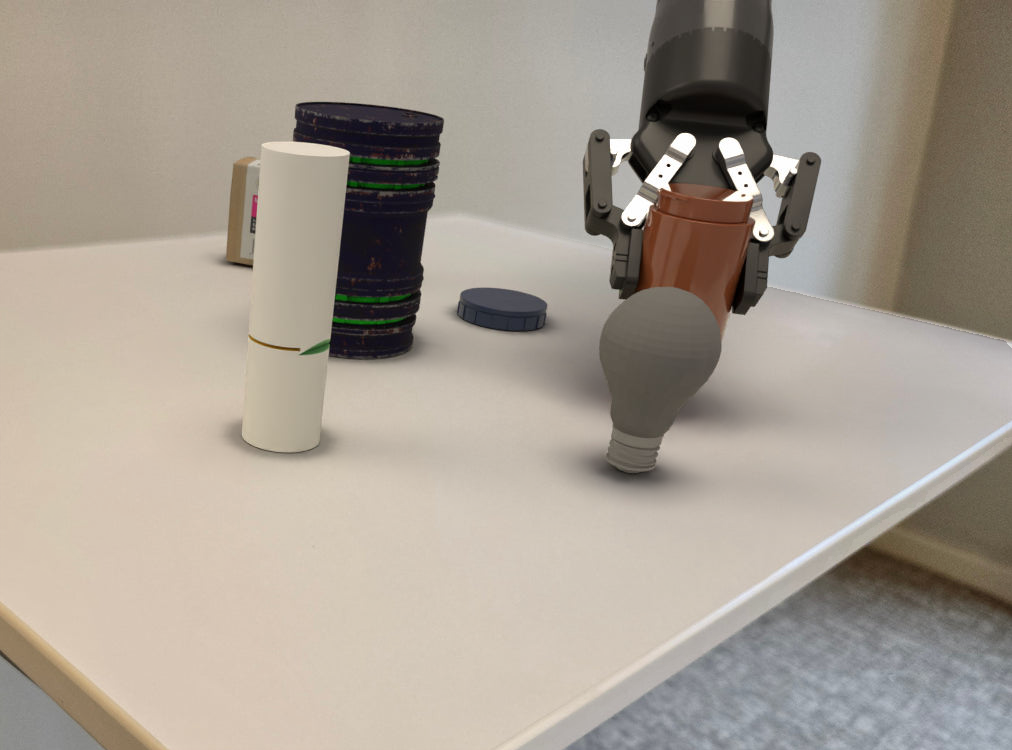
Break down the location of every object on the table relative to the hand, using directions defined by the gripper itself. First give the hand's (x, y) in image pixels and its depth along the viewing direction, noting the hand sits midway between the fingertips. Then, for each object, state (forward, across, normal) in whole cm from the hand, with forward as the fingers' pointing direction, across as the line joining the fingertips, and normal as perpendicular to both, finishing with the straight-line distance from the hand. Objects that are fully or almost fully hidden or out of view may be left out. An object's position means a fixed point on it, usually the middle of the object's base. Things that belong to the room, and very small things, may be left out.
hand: (685, 299), depth 63 cm
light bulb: (+12, -3, -2) cm, 12 cm away
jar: (+2, 0, +4) cm, 5 cm away
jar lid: (-8, -10, +18) cm, 22 cm away
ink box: (-13, -28, +24) cm, 39 cm away
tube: (+14, -22, -3) cm, 26 cm away
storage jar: (0, -21, +11) cm, 23 cm away
